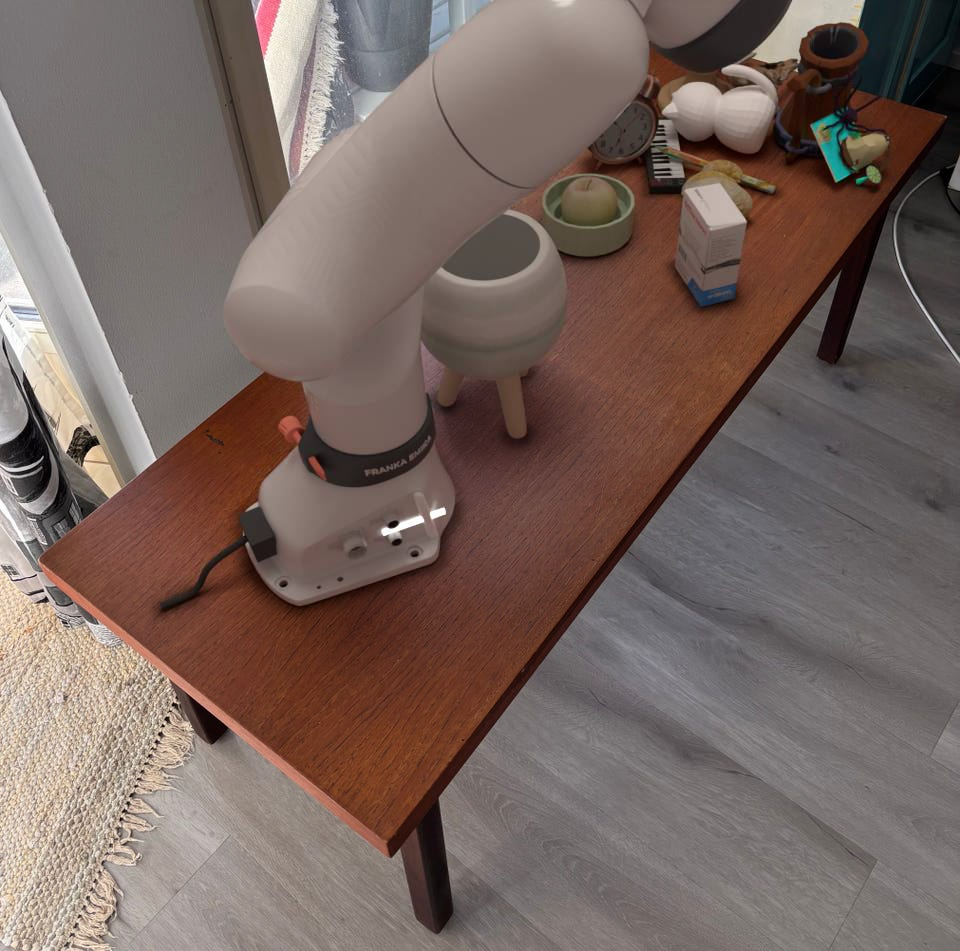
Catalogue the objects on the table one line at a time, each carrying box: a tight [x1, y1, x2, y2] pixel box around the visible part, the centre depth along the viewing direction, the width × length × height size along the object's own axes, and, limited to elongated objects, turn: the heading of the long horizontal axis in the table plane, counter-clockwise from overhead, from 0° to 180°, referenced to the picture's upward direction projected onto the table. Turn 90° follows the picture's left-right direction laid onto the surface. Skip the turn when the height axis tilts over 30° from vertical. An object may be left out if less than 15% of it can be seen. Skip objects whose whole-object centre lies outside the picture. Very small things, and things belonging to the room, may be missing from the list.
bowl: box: [541, 173, 635, 257], centre depth 130 cm, size 12×12×5 cm
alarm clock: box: [587, 68, 661, 171], centre depth 135 cm, size 11×5×15 cm, turn 104°
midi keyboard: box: [643, 117, 687, 194], centre depth 141 cm, size 18×1×5 cm
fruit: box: [561, 176, 617, 226], centre depth 128 cm, size 8×7×8 cm
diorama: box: [810, 73, 892, 186], centre depth 133 cm, size 11×15×6 cm
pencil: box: [655, 146, 777, 195], centre depth 137 cm, size 1×1×18 cm
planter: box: [421, 208, 569, 439], centre depth 104 cm, size 16×16×22 cm
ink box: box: [674, 183, 748, 308], centre depth 119 cm, size 9×5×12 cm, turn 14°
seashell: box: [680, 159, 754, 219], centre depth 131 cm, size 10×6×15 cm
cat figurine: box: [661, 64, 779, 155], centre depth 139 cm, size 9×12×15 cm
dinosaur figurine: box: [725, 58, 799, 115], centre depth 147 cm, size 14×6×9 cm
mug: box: [772, 21, 870, 163], centre depth 135 cm, size 18×12×15 cm, turn 143°
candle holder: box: [656, 69, 734, 113], centre depth 142 cm, size 12×12×20 cm
